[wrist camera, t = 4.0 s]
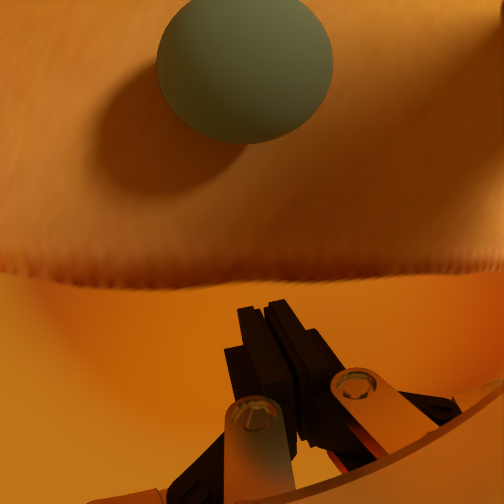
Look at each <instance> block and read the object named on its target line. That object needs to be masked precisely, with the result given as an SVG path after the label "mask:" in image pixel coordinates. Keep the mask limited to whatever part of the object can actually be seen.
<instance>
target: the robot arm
mask: <svg viewBox="0 0 504 504" xmlns="http://www.w3.org/2000/svg"><path fill="white" fill-rule="evenodd" d="M237 312H238V318H239V324H240V330H241V335H242V341H243V345H241V346H236V347H232V348H227V349H224V353H225V357H226V362H227V366H228V371H229V375H230V380H231V384H232V388H233V393H234V397H235V401H236V402H234V403H233V404H232V405H230V407H229V408H228V410H227V412H226V415H225V431H224V432H223V433H222V434H221V435H220V437H218V439H217V440H216V441H215V442H214V443H213V444H212V445H211V446H210V447H209V448H208V449H207V450H206V451H205V452H204V453H203V454H202V455H201V456H200V457H199V458H198V459H197V460H196V461H195V462H194V463H193V464H192V465H191V466H189V467H188V469H186V470H185V471H184V472H183V474H181V475H180V476H179V477H178V478H177V479H176V480H175V481H174V482H173V483H172V484H171V485H170V486H169V488H168V489H164V490H160V491H158V490H157V489H156V488H155V489H151V490H146V491H142V492H137V493H133V494H128V495H123V496H117V497H112V498H106V499H99V500H94V501H91V502H89V503H87V504H504V380H500V379H499V380H494V381H492V382H489V383H487V384H484V385H482V386H479V387H477V388H474V389H472V390H469V391H466V392H464V393H461V394H458V395H455V396H453V397H452V400H449V399H446V398H442V397H434V396H427V395H420V394H414V393H407V392H401V391H396V390H395V389H394V388H393V387H392V386H391V385H389V384H388V383H387V382H386V381H385V380H384V379H382V378H381V377H380V376H379V375H378V374H376V373H375V372H373V371H371V370H368V369H365V368H349V369H345V367H344V366H343V365H342V363H341V362H340V361H339V360H338V358H337V357H336V355H335V354H334V353H333V351H332V350H331V349H330V347H329V346H328V344H327V343H326V342H325V340H324V339H323V338H322V336H321V335H320V334H319V332H318V331H317V330H316V329H314V328H313V329H309V330H305V328H304V327H303V326H302V324H301V323H300V321H299V320H298V318H297V317H296V315H295V314H294V312H293V311H292V309H291V308H290V306H289V305H288V303H287V302H286V301H285V299H282V300H278V301H273V302H269V307H264V316H265V319H264V317H263V314H262V312H261V310H260V309H255V310H254V307H253V306H250V307H244V308H239V309H237ZM297 432H298V435H299V437H300V439H301V441H304V440H307V441H308V443H309V446H310V447H311V448H312V447H315V446H317V447H319V448H322V449H325V450H327V454H328V456H329V458H330V459H331V460H332V462H333V463H334V464H335V466H336V467H337V468H338V470H339V471H340V472H341V473H342V475H339V476H337V477H334V478H331V479H328V480H326V481H323V482H320V483H316V484H313V485H310V486H307V487H304V488H300V489H297V490H296V488H295V482H294V477H293V471H292V465H291V461H292V460H293V459H294V457H295V456H296V454H297V445H296V443H297Z"/></svg>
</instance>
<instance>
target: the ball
mask: <svg viewBox="0 0 504 504" xmlns="http://www.w3.org/2000/svg"><path fill="white" fill-rule="evenodd" d="M156 71H157V77H158V82H159V86H160V89H161V92H162V95H163V96H164V98H165V100H166V102H167V104H168V105H169V107H170V108H171V110H172V111H173V112H174V113H175V114H176V115H177V116H178V118H179V119H180V120H181V121H183V122H184V123H185V124H186V125H188V126H189V127H190V128H192V129H194V130H195V131H197V132H198V133H200V134H202V135H205V136H207V137H209V138H212V139H215V140H218V141H222V142H228V143H234V144H255V143H261V142H267V141H270V140H273V139H276V138H279V137H281V136H283V135H286V134H288V133H290V132H292V131H293V130H295V129H297V128H298V127H300V126H301V125H302V124H303V123H305V122H306V121H307V120H308V119H309V118H310V117H311V116H312V115H313V114H314V113H315V111H316V110H317V109H318V108H319V106H320V105H321V103H322V102H323V100H324V98H325V96H326V94H327V92H328V89H329V86H330V83H331V79H332V73H333V56H332V48H331V44H330V41H329V38H328V36H327V33H326V31H325V29H324V27H323V26H322V24H321V22H320V21H319V20H318V18H317V17H316V16H315V15H314V14H313V12H312V11H311V10H310V9H309V8H308V7H306V6H305V5H304V4H303V3H302V2H300V1H299V0H192V1H190V2H189V3H187V4H186V5H185V6H184V7H183V8H181V9H180V11H179V12H178V13H177V14H176V15H175V16H174V17H173V18H172V20H171V21H170V23H169V24H168V26H167V27H166V29H165V31H164V33H163V35H162V37H161V41H160V44H159V47H158V51H157V59H156Z"/></svg>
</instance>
